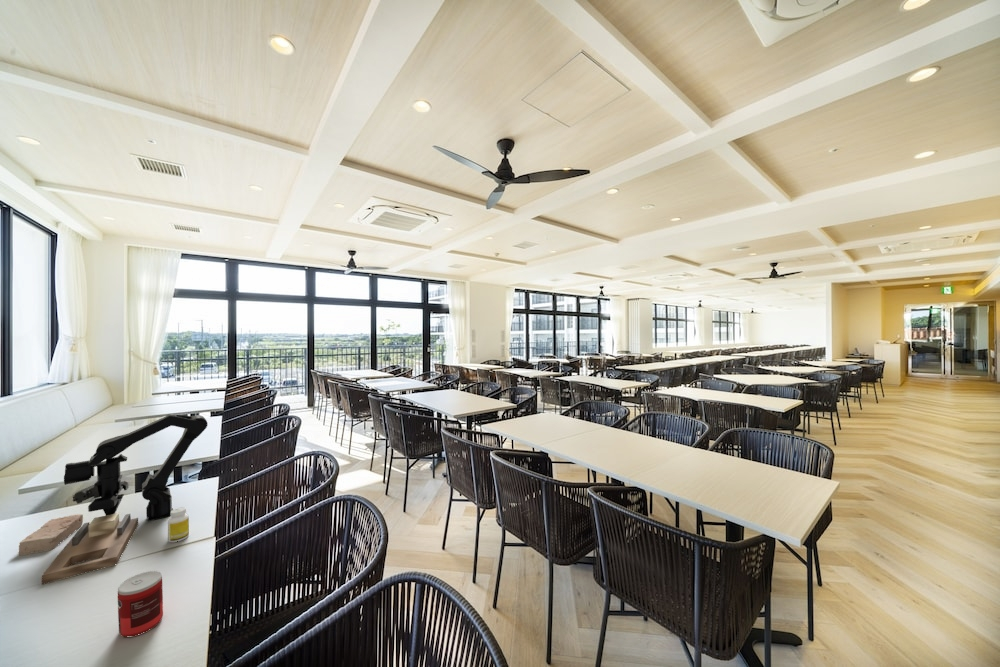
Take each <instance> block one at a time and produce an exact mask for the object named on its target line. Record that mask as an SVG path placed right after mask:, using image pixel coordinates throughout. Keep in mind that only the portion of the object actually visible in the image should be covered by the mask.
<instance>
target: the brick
mask: <svg viewBox="0 0 1000 667" xmlns="http://www.w3.org/2000/svg"><path fill="white" fill-rule="evenodd" d="M83 519H84V514H81V513H80V514H78V513H77V514H73V515H72V514H71V515H67V516H62V517H58V518H51V519H50V520H48V521H47V522H45V523H44V524H43V525H42V526H41V527H40V528H39V529H37V530H35V531H33V532H32V533H31V534H29V535H27V536H26V537H25V538H23V539H22V540H21V541H19V545H18V552H17V553H18V556H25V555H29V554H30V555H31V554H35V553H42V551H44V552H47V550H49V551H52V550H54V549H55V548H57V547H58V546H59V545H60V544H61V543H63V542H64V541H65V540H66V539H67V538H69V537H70V536H71V535H72V534H74V533H75V532H76V531H78V530H79V529H80V528H81V527H82V525H83V524H84V523H83V521H84V520H83ZM75 530H76V531H75ZM74 531H75V532H74ZM73 532H74V533H73ZM70 534H71V535H70ZM69 535H70V536H69ZM68 536H69V537H68ZM65 538H66V539H65ZM63 540H64V541H63ZM60 542H61V543H60ZM58 544H59V545H58ZM56 546H57V547H56ZM53 548H54V549H53Z"/></svg>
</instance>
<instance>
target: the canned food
mask: <svg viewBox="0 0 1000 667" xmlns="http://www.w3.org/2000/svg"><path fill="white" fill-rule="evenodd" d="M117 587H118V588H117V613H118V616H117V619H118V632H119V635H120V636H121V635H122V636H126V637H125V638H128V637H127V636H135V635H138V634H141V633H143V632H146V631H148V630H149V629H151V628H153V627H154V626H155V625H156V624H158V623H159V624H160V622H161V621H162V619H163V616H164V605H163V604H164V602H163V601H164V597H163V592H164V591H163V575H162V572H161V571H158V570H152V571H151V570H150V571H146V572H141V573H139V574H135V575H133V576H132V577H129V578H128V579H126V580H124V581H123V582H122V583H120V584H119V586H117ZM159 624H158V625H159ZM156 626H157V625H156ZM156 626H155V627H156ZM155 627H154V628H155ZM154 628H153V629H154ZM151 630H152V629H151ZM149 631H150V630H149ZM149 631H148V632H149ZM146 633H147V632H146ZM143 634H144V633H143ZM141 635H142V634H141ZM122 636H121V637H122ZM138 636H139V635H138ZM135 637H136V636H135Z"/></svg>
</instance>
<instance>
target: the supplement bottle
mask: <svg viewBox="0 0 1000 667" xmlns="http://www.w3.org/2000/svg"><path fill="white" fill-rule="evenodd" d="M186 509H187V508H186V507H177V508H173V510H172V511H171V512H170V515H171V516H169V518H168V520H167V540H168V542H169V543H178V542H181V541H183V540H185V539H187V538H188V537H189V535H190V533H189V532H190V526H189V523H190V520H189V514H188V513H187V510H186ZM177 541H178V542H177Z"/></svg>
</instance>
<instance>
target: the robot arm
mask: <svg viewBox="0 0 1000 667" xmlns="http://www.w3.org/2000/svg"><path fill="white" fill-rule="evenodd" d="M169 427H177V428H181V429H184V430H183V433H182V435H181V437H180V439H179V440H178V441H177V443H176V444H175V446H174V447H173V448H172V450H171V452H169V455H168V456H167V458H166V459H165V460H164V462H163V463H162V465H161V466H160V467H159V469H158V470H157V471H156V472H155V473H154V474H152V473H151V474H150V473H149V474H148V475H147V477H146V479H145V481H143V483H142V484H141V488H142V489H141V496H142V498H143V499H144V500H147V501H148V502H147V506H146V508H145V509H146V518H147V520H146V521H148V522H150V521H154V519H155V520H158V519H163V518H167V517H171V516H170V512H171V511H172V510H174V508H173V503H172V501H173V498H172V495H171V489H170V487H168V486H167V484H168V481H169V477H170V476H171V474H172V473H173V471H174V470H175V468H176V467H177V465H178V464H179V463H180V461H181V459H182V458H183V456H184V455H185V453H186V452H187V450H188V449H189V447H190V446H191V445H192V443H193V441H195V440H196V439H197V438H198V437H199V436H201V434H202V433H203V432H204V431H205V430H206V429H207V427H208V420H207V419H206V418H205V417H204V416H202V415H199V414H198V415H192V416H191V415H185V414H184V415H181V414H175V413H168V414H166V415H165V416H163V417H160V418H159V419H156V420H154V421H151V422H150V423H148V424H146V425H144V426H142V427H139V428H137V429H135V430H133V431H130V432H129V433H125V434H122V435H117V436H115V437H111V438H108V439H104V440H102V441H100V442H99V444H98V445H97V447H96V450H95V453H94V454H93V455H92V456H90V457H89V460H84V461H77V462H70V463H69V462H68V463H66V464H65V466H64V468H65V469H64V475H63V483H64V486H67V485H71V484H76V483H81V482H86V481H90V479H92V477H94V476H95V467H96V480H97V481H95V483H94V484H92V485H89V486H87V487H85V488H83V489H82V488H81V490H78V491H76V492H75V493H74V494H73V495H72V501H73V502H75V503H76V504H77V505H79V504H81V503H83V502H85V501H87V500H89V499H91V498H93V500H92V501H91V502H90V503H89V505H88V507H87V509H88V510H87V511H88V512H95V511H100V510H102V511H103V512H104V516H106V515H111V514H116V513H117V510H118V508H119V507H120V506H119V505H120V503H121V502H122V500H123V497H124V495H125V494H124V493H122V494H120V492H121V491H122V490H124V491H127V490H128V489H129V482H127V481H126V480H124V481H123V480H122V481H121V479H123V474H121V463H123V462H127V461H128V457H127V456H125V455H123V452H124V451H125V450H127V449H128V448H129V447H131V446H132V445H134V444H135V443H137V442H139V441H142V440H144V439H146V438H148V437H150V436H153V435H155V434H156V433H158V432H160V431H163V430H165V429H166V428H169Z"/></svg>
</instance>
